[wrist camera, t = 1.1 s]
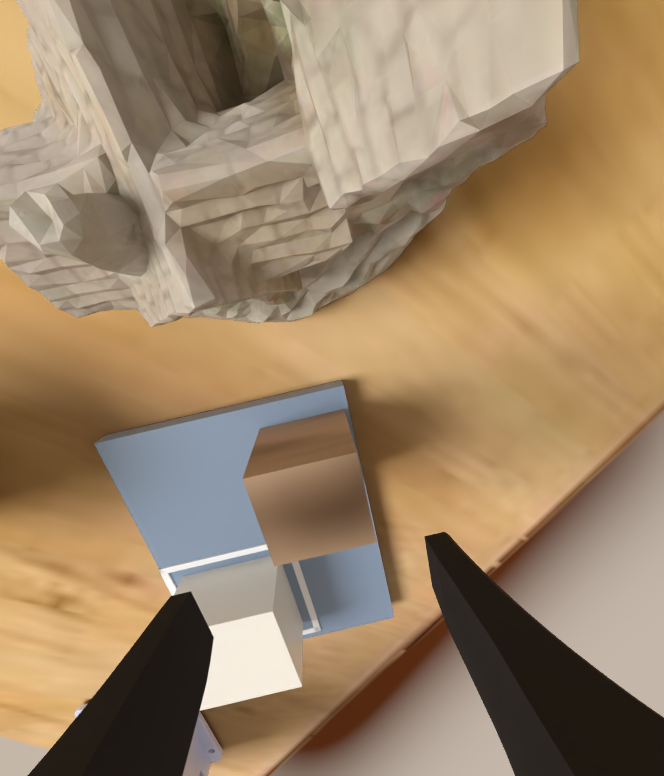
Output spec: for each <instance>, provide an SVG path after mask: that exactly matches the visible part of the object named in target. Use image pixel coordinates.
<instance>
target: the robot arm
mask: <svg viewBox="0 0 664 776" xmlns="http://www.w3.org/2000/svg"><path fill="white" fill-rule="evenodd" d="M425 542H426V549H427V555H428V562H429V568H430V574H431V581H432V587H433V589H434V592H435V595H436V598H437V600H438V603H439V606H440V608H441V611H442V614H443V616H444V619H445V622H446V624H447V627H448V629H449V631H450V633H451V635H452V637H453V640H454V642H455V644H456V646H457V648H458V650H459V652H460V654H461V656H462V659H463V661H464V663H465V665H466V667H467V669H468V671H469V673H470V675H471V678H472V680H473V682H474V684H475V686H476V688H477V690H478V692H479V694H480V697H481V699H482V701H483V703H484V705H485V707H486V709H487V712H488V714H489V716H490V718H491V720H492V722H493V724H494V726H495V729H496V731H497V733H498V735H499V738H500V740H501V742H502V744H503V747H504V749H505V751H506V754H507V756H508V759H509V761H510V764H511V766H512V769H513V771H514V774H515V776H664V718H663V717H662V716H660V715H659V714H658V713H656V712H655V711H653V710H652V709H651V708H649V707H647V706H646V705H645V704H643V703H642V702H640V701H639V700H638V699H636V698H635V697H634V696H632V695H631V694H629V693H628V692H627V691H625V690H624V689H623V688H621V687H620V686H619V685H617V684H616V683H615V682H613V681H612V680H611V679H609V678H608V677H607V676H605V675H604V674H603V673H601V672H600V671H599V670H597V669H596V668H595V667H593V666H592V665H591V664H590V663H588V662H587V661H586V660H585V659H583V658H582V657H581V656H579V655H578V654H577V653H575V652H574V651H573V650H572V649H571V648H569V647H568V646H567V645H566V644H564V643H563V642H562V641H561V640H559V639H558V638H557V637H556V636H555V635H553V634H552V633H551V632H550V631H549V630H547V629H546V628H545V627H544V626H542V624H540V623H539V622H538V621H537V620H536V619H535V618H533V617H532V616H531V615H530V614H529V613H528V612H526V611H525V610H524V609H523V608H522V607H521V606H520V605H519V604H517V603H516V602H515V601H514V600H513V599H512V598H511V597H510V596H509V595H508V594H507V593H506V592H505V591H503V590H502V589H501V588H500V587H499V586H498V585H497V584H496V583H495V582H494V581H493V580H492V579H491V578H490V577H489V576H488V575H487V574H486V573H485V572H483V571H482V570H481V569H480V568H479V566H478V565H477V564H476V563H475V562H474V561H473V560H472V559H471V558H470V557H469V556H468V555H467V554H466V553H465V552H464V551H463V550H462V549H461V548H460V547H459V546H458V545H457V543H456V542H455V541H454V540H453V539H452V538H451V537H450V536H449V534H447V533H445V532H442V533H438V534H433V535H429V536H425ZM213 640H214V637H213V635H212V633H211V631H210V628H209V626H208V624H207V622H206V620H205V618H204V616H203V614H202V612H201V610H200V608H199V606H198V604H197V602H196V600H195V598H194V596H193V594H192V592H191V591H190V592H186V593H181V594H177V595H173V596H171V597H170V598H169V599H168V601H167V602H166V603H165V604H164V606H163V607H162V608H161V610H160V611H159V612H158V613H157V615H156V616H155V617H154V619H153V620H152V621H151V623H150V624H149V625H148V627H147V628H146V629H145V631H144V632H143V633H142V635H141V636H140V637H139V639H138V640H137V641H136V642H135V644H134V645H133V646H132V648H131V649H130V650H129V652H128V653H127V654H126V656H125V657H124V658H123V659H122V661H121V662H120V663H119V665H118V666H117V667H116V669H115V670H114V671H113V672H112V674H111V675H110V676H109V678H108V679H107V680H106V682H105V683H104V684H103V685H102V687H101V688H100V689H99V690H98V692H97V693H96V694H95V695H94V697H93V698H92V699H91V700H90V701H89V703H88V704H83V705H81V706H79V707H78V708H77V710H76V712H75V717H76V719H75V720H74V721H73V722H72V724H71V725H70V726H69V727H68V729H67V730H66V731H65V732H64V734H63V735H62V736H61V737H60V738H59V740H58V741H57V742H56V743H55V744H54V746H53V747H52V748H51V749H50V750H49V752H48V753H47V754H46V755H45V756H44V757H43V759H42V760H41V761H40V762H39V763H38V764H37V766H36V767H35V768H34V769H33V770H32V771H31V772H30V774H29V775H28V776H208V773H209V768H210V763H211V762H216V761H219V760H221V759H222V755H223V750H222V748H221V746H220V745H219V743H218V741H217V740H216V738H215V736H214V734H213V733H212V731H211V729H210V728H209V726H208V724H207V722H206V721H205V719H204V717H203V716H202V714H201V712H200V707H201V703H202V699H203V695H204V691H205V687H206V683H207V678H208V672H209V667H210V661H211V654H212V647H213Z"/></svg>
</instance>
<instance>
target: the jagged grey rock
mask: <svg viewBox="0 0 664 776" xmlns="http://www.w3.org/2000/svg"><path fill="white" fill-rule="evenodd" d="M16 1H17V3H18V5H19V6H20V8H21V10H22V12H23V13H24V15H25V17H26V19H27V21H28V24H29V28H28V29H27V47H28V49H29V51H30V53H31V55H32V61H31V63H32V65H33V67H34V69H35V79H36V82H37V85H38V88H39V91H40V95H41V98H42V103H41V104H40V106H39V107H38V109H37V110H36V112H35V114H34V122H31V123H27V124H23V125H19V126H14V127H10V128H6V129H3V130H1V131H0V258H1V260H2V261H3V262H4V263H5V264H6V265H7V266H8V268H10V269H11V270H12V271H13V272H15V273H16V274H17V275H18V276H19V277H20V278H21V279H22V280H23V281H24V283H25V284H26V285H27V286H28V287H30V288H32V289H34V290H36V291H38V292H39V293H40V294H41V295H43V296H44V297H45V298H46V299H47V300H49V301H50V302H51V303H52V304H53V305H54V306H55V307H56V308H57V309H59V310H62V311H65V312H67V313H69V314H71V315H73V316H75V317H77V318H80V317H83V316H86V315H89V314H93V313H96V312H99V311H107V310H139V311H140V313H141V315H142V316H143V318H144V319H145V320H146V321H148V323H149V325H150V327H154V326H158V325H163V324H166V323H168V322H173V321H176V320H178V319H180V318H182V317H204V318H213V319H231V320H235V321H243V322H249V323H250V322H254V323H255V322H256V323H261V322H285V321H288V322H292V321H294V320H296V319H300V318H303V317H307V316H310V315H312V314H313V313H314V311H318V310H319V308H321V307H323V306H325V305H326V304H329V303H330V302H332V301H334V300H336V299H338V298H341V297H344V296H347V295H349V294H350V293H352V292H354V291H356V290H357V289H358V288H360V287H361V286H363V285H365V284H366V283H368V282H369V280H372V279H374V278H375V277H376V276H377V275H380V274H382V273H383V272H384V271H385V270H386V269H388V268H389V266H390V265H391V264H392V263H393V262H394V261H395V260H396V259H397V258H398V257H399V256H400V255H401V254H402V253H403V251H404V249H405V248H406V247H407V246H408V245H409V244H410V243H411V241H412V239H413V237H414V236H415V235H416V234H417V233H418V232H419V231H420V230H421V229H422V228H424V227H425V226H426V225H427V224H428V223H429V222H430V221H432V220H433V219H434V218H435V217H436V216H437V215H439V214H440V213H441V212H442V211H443V209H444V208H445V206H446V199H447V197H448V196H449V194H450V193H451V192H452V190H453V189H454V188H456V187H457V186H459V185H461V184H463V183H465V181H466V180H467V179H468V178H469V177H470V176H471V174H472V173H473V172H474V171H475V170H476V169H477V168H478V167H480V166H483V165H485V164H487V163H490V162H492V161H494V160H496V159H497V158H499V157H500V156H502V155H503V154H505V153H507V152H508V151H510V150H511V149H513V148H514V147H516V146H517V145H519V144H521V143H523V142H525V141H527V140H530V139H532V138H533V137H534V135H535V134H536V132H537V131H539V130H540V129H542V128H543V127H545V126H546V124H547V119H546V115H545V111H544V110H545V106H546V97H545V93H546V92H547V91H548V90H549V89H550V88H551V87H553V86H554V85H555V84H556V83H557V82H558V81H559V80H560V79H561V78H562V77H563V76H564V75H565V74H566V73H567V72H568V71H569V70H570V69H571V68H573V67H574V66H575V65H576V64H577V63H578V62H579V61H580V58H579V36H578V14H577V0H16Z"/></svg>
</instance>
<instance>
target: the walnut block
mask: <svg viewBox="0 0 664 776" xmlns="http://www.w3.org/2000/svg"><path fill="white" fill-rule="evenodd" d="M243 482H244V485H245V488H246V490H247V493H248V496H249V499H250V501H251V504H252V507H253V509H254V512H255V515H256V518H257V520H258V523H259V526H260V529H261V531H262V534H263V537H264V539H265V542H266V545H267V548H268V550H269V553H270V556H271V559H272V561H273V564H274V567H275V566H279V565H283V564H287V563H292V562H296V561H300V560H304V559H309V558H313V557H317V556H321V555H326V554H330V553H334V552H338V551H343V550H347V549H351V548H355V547H360V546H364V545H368V544H372V543H377V541H376V537H375V532H374V528H373V523H372V519H371V514H370V510H369V505H368V500H367V496H366V491H365V487H364V482H363V478H362V473H361V469H360V464H359V460H358V455H357V451H356V448H355V444H354V441H353V438H352V434H351V431H350V428H349V424H348V421H347V418H346V414H345V411H344V409H341V410H337V411H333V412H328V413H324V414H320V415H316V416H311V417H307V418H303V419H298V420H294V421H290V422H286V423H281V424H277V425H273V426H268V427H264V428H260V429H259V432H258V435H257V438H256V441H255V444H254V446H253V449H252V452H251V455H250V458H249V461H248V464H247V467H246V470H245V473H244V476H243Z"/></svg>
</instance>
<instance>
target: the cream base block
mask: <svg viewBox="0 0 664 776" xmlns="http://www.w3.org/2000/svg"><path fill="white" fill-rule="evenodd" d="M190 591H191V592H192V594H193V596H194V598H195V600H196V602H197V604H198V606H199V608H200V610H201V612H202V614H203V616H204V618H205V620H206V622H207V624H208V626H209V628H210V631H211V633H212V635H213V637H214V640H213V647H212V654H211V661H210V667H209V672H208V678H207V683H206V687H205V691H204V695H203V699H202V703H201V707H200V711H201V710H205V709H210V708H214V707H218V706H222V705H227V704H231V703H235V702H239V701H243V700H248V699H252V698H256V697H260V696H265V695H269V694H273V693H277V692H282V691H286V690H290V689H294V688H298V687H302V662H303V621H302V618H301V615H300V612H299V610H298V607H297V604H296V601H295V598H294V596H293V593H292V590H291V587H290V584H289V581H288V579H287V576H286V573H285V570H284V567H283V565H279V566H275V567H274V564H273V561H272V559H271V556H268V557H264V558H260V559H256V560H251V561H247V562H243V563H239V564H234V565H230V566H226V567H222V568H217V569H213V570H209V571H205V572H200V573H196V574H192V575H188V576H183V577H182V578H181V580H180V582H179V584H178V587H177V589H176V591H175V594H174V595H177V594H181V593H186V592H190Z"/></svg>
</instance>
